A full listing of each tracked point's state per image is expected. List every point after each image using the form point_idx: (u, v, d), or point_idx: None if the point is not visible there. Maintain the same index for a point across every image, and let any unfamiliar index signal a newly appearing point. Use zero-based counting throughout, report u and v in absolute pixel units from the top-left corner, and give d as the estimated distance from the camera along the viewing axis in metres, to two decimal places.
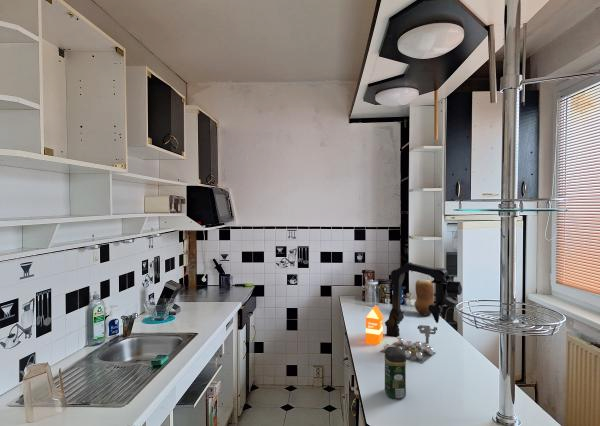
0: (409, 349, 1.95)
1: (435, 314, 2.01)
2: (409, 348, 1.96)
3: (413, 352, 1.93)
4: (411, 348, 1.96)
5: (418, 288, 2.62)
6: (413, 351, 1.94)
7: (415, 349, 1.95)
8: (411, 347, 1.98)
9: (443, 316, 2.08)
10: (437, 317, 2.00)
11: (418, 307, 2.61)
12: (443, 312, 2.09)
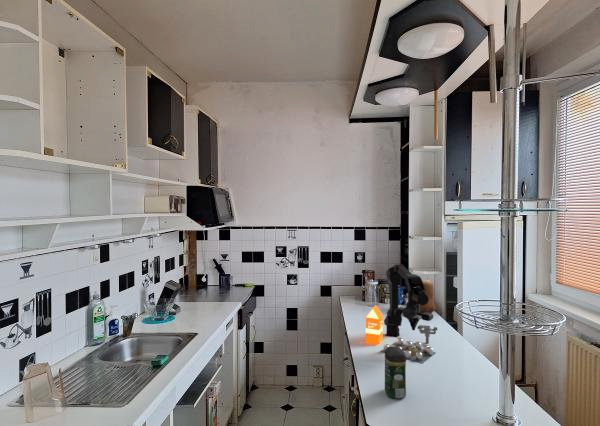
0: (409, 349, 1.95)
1: None
2: (409, 348, 1.96)
3: (413, 352, 1.93)
4: (411, 348, 1.96)
5: None
6: (413, 351, 1.94)
7: (415, 349, 1.95)
8: (411, 347, 1.98)
9: None
10: None
11: None
12: None
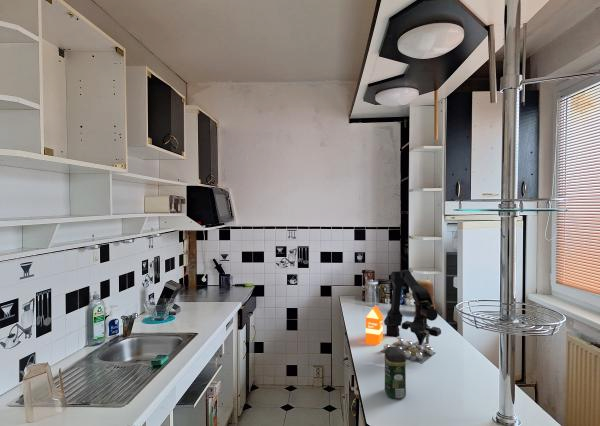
0: (409, 349, 1.95)
1: None
2: (409, 348, 1.96)
3: (413, 352, 1.93)
4: (411, 348, 1.96)
5: None
6: (413, 351, 1.94)
7: (415, 349, 1.95)
8: (411, 347, 1.98)
9: None
10: None
11: None
12: None
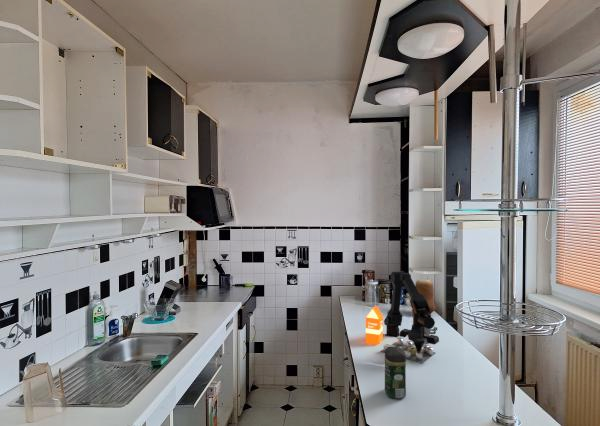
0: (408, 349, 1.95)
1: None
2: (408, 348, 1.97)
3: (412, 352, 1.94)
4: (410, 348, 1.96)
5: (418, 288, 2.62)
6: (412, 351, 1.94)
7: (414, 349, 1.95)
8: (410, 347, 1.98)
9: None
10: None
11: None
12: None
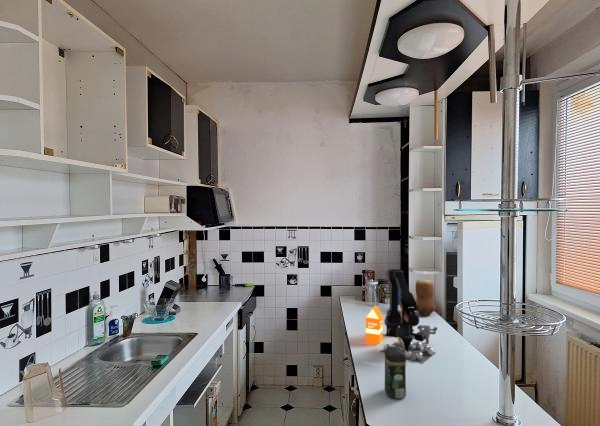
0: None
1: None
2: (396, 345, 2.00)
3: None
4: (398, 345, 2.00)
5: (418, 288, 2.62)
6: None
7: (402, 346, 1.99)
8: (399, 344, 2.02)
9: None
10: None
11: (418, 307, 2.61)
12: None
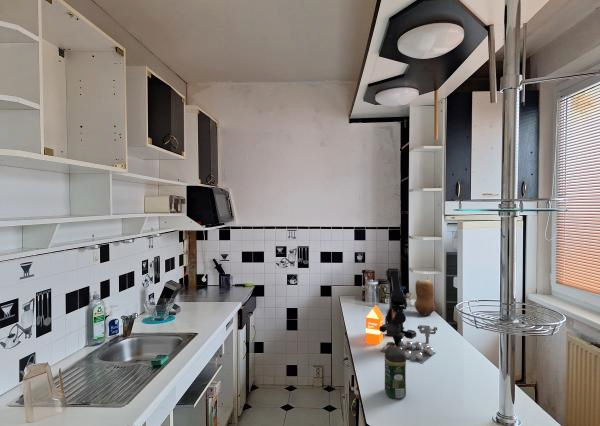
0: None
1: None
2: (387, 343, 2.04)
3: (390, 346, 2.01)
4: (389, 343, 2.03)
5: (418, 288, 2.62)
6: (390, 346, 2.01)
7: (393, 344, 2.02)
8: (390, 342, 2.05)
9: None
10: None
11: (418, 307, 2.61)
12: None
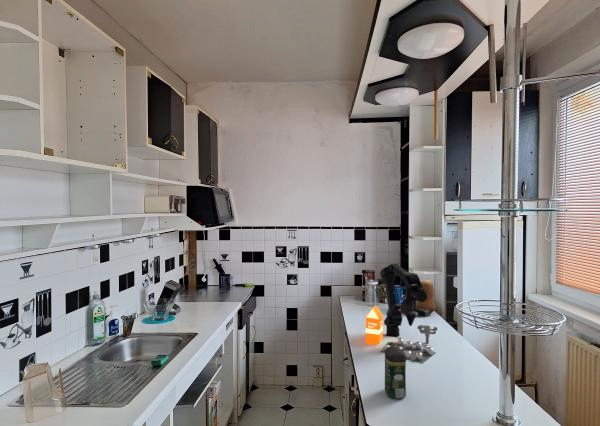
0: None
1: None
2: (387, 343, 2.04)
3: (390, 346, 2.01)
4: (389, 343, 2.03)
5: None
6: (390, 346, 2.01)
7: (393, 344, 2.02)
8: (390, 342, 2.05)
9: None
10: None
11: (418, 307, 2.61)
12: None
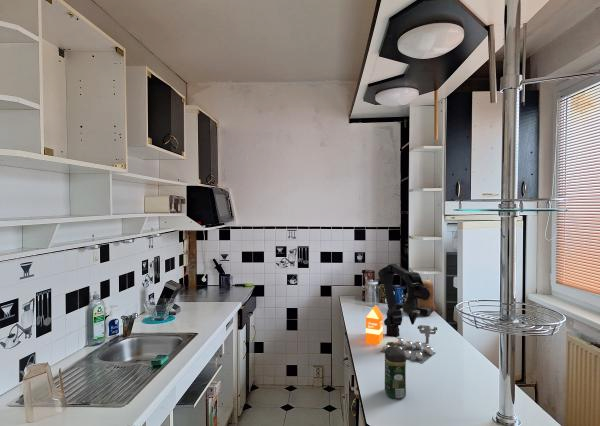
0: None
1: None
2: (387, 343, 2.04)
3: (390, 346, 2.01)
4: (389, 343, 2.03)
5: None
6: (390, 346, 2.01)
7: (393, 344, 2.02)
8: (390, 342, 2.05)
9: None
10: None
11: (418, 307, 2.61)
12: None
